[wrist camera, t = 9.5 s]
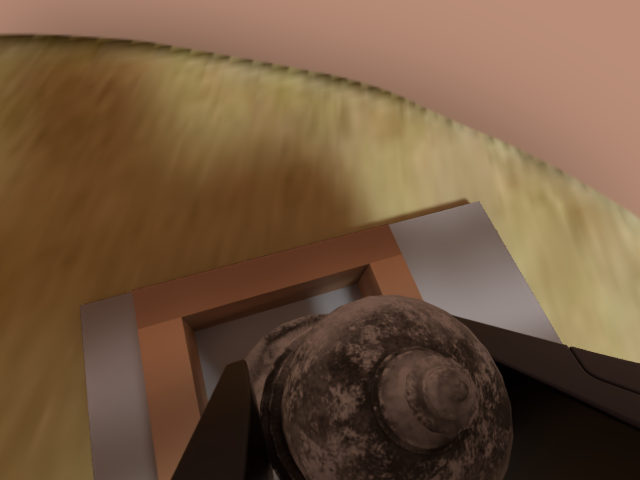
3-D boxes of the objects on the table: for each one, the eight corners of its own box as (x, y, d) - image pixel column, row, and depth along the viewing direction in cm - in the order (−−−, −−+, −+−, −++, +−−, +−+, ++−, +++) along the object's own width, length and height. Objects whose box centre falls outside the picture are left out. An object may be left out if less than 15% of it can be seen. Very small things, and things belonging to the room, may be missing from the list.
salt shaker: (268, 318, 15) (253, 64, 5) (407, 363, 15) (734, 208, 4) (207, 482, 13) (-177, 810, 2) (375, 540, 12) (1034, 1286, 2)
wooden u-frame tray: (633, 485, 16) (711, 498, 13) (125, 759, 11) (74, 875, 8) (473, 206, 21) (504, 173, 18) (86, 309, 16) (47, 285, 13)
